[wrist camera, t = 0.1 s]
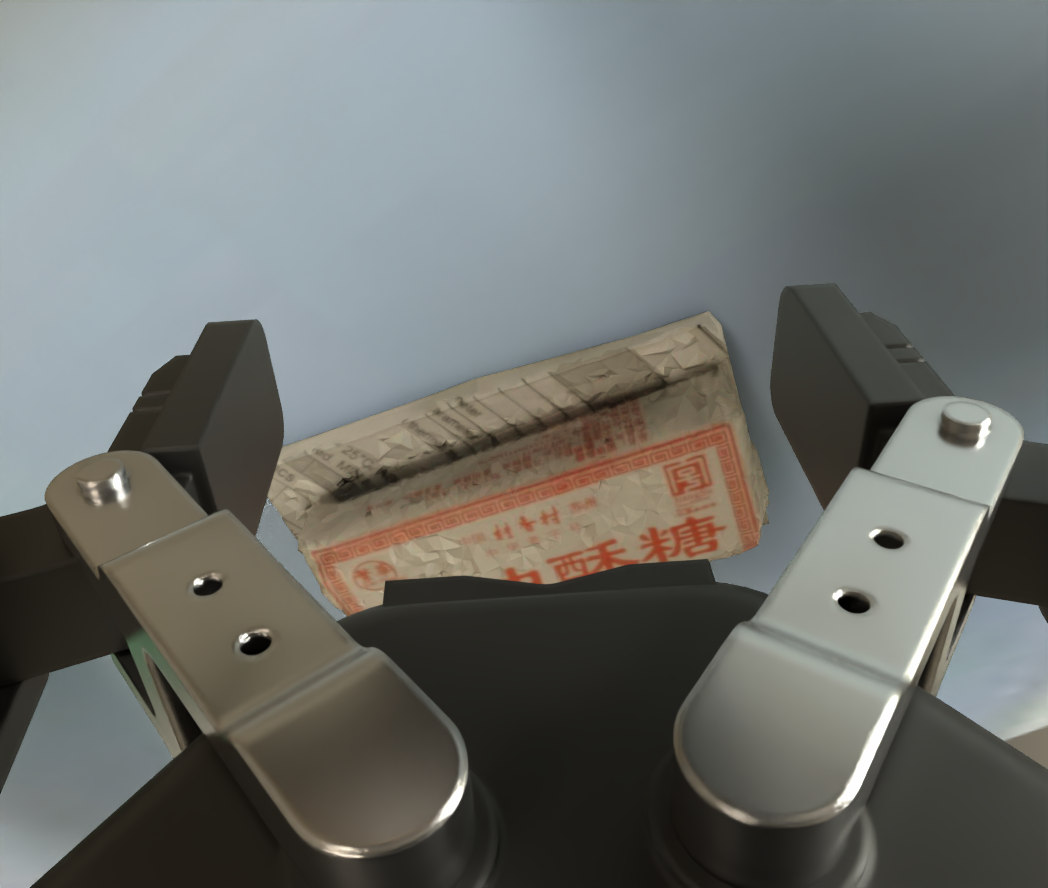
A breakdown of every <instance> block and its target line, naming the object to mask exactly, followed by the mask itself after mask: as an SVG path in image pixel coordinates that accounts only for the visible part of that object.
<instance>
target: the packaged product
mask: <svg viewBox="0 0 1048 888" xmlns="http://www.w3.org/2000/svg"><path fill="white" fill-rule="evenodd" d="M748 433H749V431H748V428H747V425H746V418H745V413H744V412H743V410H742V406H741V402H740V399H739V395H738V391H737V387H736V383H735V379H734V375H733V371H732V367H731V363H730V359H729V355H728V350H727V346H726V342H725V338H724V334H723V330H722V326H721V324H720V323H719V322H718V320H717V319H716V318H715V317H714V316H713V315H712V314H711V313H710V312H709V311H708V312H705V313H701V314H698V315H695V316H692V317H689V318H686V319H683V320H680V321H677V322H674V323H671V324H668V325H665V326H662V327H659V328H656V329H653V330H650V331H647V332H644V333H641V334H638V335H635V336H631V337H628V338H624V339H620V340H617V341H613V342H609V343H606V344H602V345H598V346H594V347H591V348H587V349H583V350H580V351H576V352H572V353H569V354H565V355H561V356H558V357H554V358H550V359H547V360H543V361H539V362H535V363H532V364H528V365H524V366H521V367H517V368H513V369H509V370H506V371H502V372H498V373H494V374H491V375H487V376H483V377H480V378H476V379H473V380H470V381H467V382H465V383H462V384H459V385H457V386H454V387H451V388H449V389H446V390H443V391H440V392H438V393H435V394H432V395H430V396H427V397H424V398H421V399H419V400H416V401H413V402H411V403H408V404H405V405H402V406H399V407H396V408H393V409H390V410H387V411H385V412H382V413H379V414H376V415H373V416H370V417H367V418H364V419H361V420H358V421H356V422H353V423H350V424H347V425H344V426H341V427H338V428H335V429H332V430H330V431H327V432H324V433H321V434H318V435H315V436H312V437H309V438H306V439H303V440H301V441H298V442H295V443H292V444H289V445H286V446H283V447H282V449H281V453H280V456H279V459H278V463H277V466H276V469H275V472H274V476H273V479H272V482H271V486H270V489H269V492H268V496H267V497H268V498H269V500H270V501H271V503H272V504H273V505H274V507H275V508H276V509H277V510H278V512H279V513H280V515H281V516H282V518H283V520H284V522H285V523H286V525H287V526H288V528H289V529H290V531H291V532H292V533H293V535H294V536H295V538H296V539H297V540H298V551H300V552H301V553H303V554H304V557H305V559H306V562H307V564H308V565H309V567H310V569H311V570H312V572H313V574H314V576H315V578H316V580H317V581H318V583H319V585H320V589H321V593H322V594H323V595H324V596H326V597H327V598H328V599H329V601H330V602H331V603H332V604H333V605H334V606H335V607H336V608H338V609H342V611H343V612H344V614H345V615H347V616H350V615H352V614H354V613H357V612H360V611H363V610H365V609H368V608H371V607H375V606H378V605H382V604H383V596H384V587H385V581H389V580H404V579H419V578H433V577H448V576H463V575H466V576H475V577H484V578H492V579H501V580H510V581H519V582H528V583H537V584H553V583H558V582H562V581H566V580H569V579H573V578H577V577H581V576H585V575H589V574H593V573H597V572H601V571H605V570H608V569H612V568H616V567H620V566H624V565H628V564H640V563H655V562H669V561H684V560H699V559H708V560H709V562H710V561H712V560H717V559H722V558H727V557H730V556H733V555H738V554H740V553H743V552H745V551H747V550H749V549H752V548H754V547H756V546H757V545H758V543H759V540H760V538H761V526H762V525H765V524H768V523H769V520H768V516H767V511H766V508H767V506H768V504H769V500H768V495H769V490H768V487H767V484H766V481H765V478H764V474H763V470H762V466H761V462H760V459H759V455H758V451H757V449H756V447H755V446H754V444H753V443H752V441H751V440H750V438H749V434H748Z"/></svg>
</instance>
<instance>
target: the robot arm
mask: <svg viewBox="0 0 1048 888" xmlns="http://www.w3.org/2000/svg"><path fill="white" fill-rule="evenodd" d="M770 389H771V400H772V405H773V410H774V413H775V415H776V417H777V419H778V421H779V423H780V425H781V427H782V429H783V431H784V433H785V435H786V437H787V439H788V441H789V443H790V445H791V447H792V449H793V451H794V453H795V455H796V457H797V459H798V461H799V463H800V465H801V466H802V468H803V470H804V472H805V474H806V476H807V478H808V480H809V482H810V484H811V486H812V488H813V490H814V492H815V494H816V496H817V498H818V500H819V502H820V504H821V506H822V508H823V510H824V512H823V514H822V515H821V517H820V518H819V520H818V521H817V523H816V524H815V526H814V527H813V529H812V530H811V532H810V533H809V535H808V536H807V538H806V539H805V541H804V542H803V544H802V545H801V547H800V548H799V550H798V551H797V553H796V554H795V556H794V557H793V559H792V560H791V562H790V563H789V565H788V566H787V568H786V569H785V571H784V573H783V574H782V576H781V577H780V579H779V580H778V582H777V583H776V585H775V586H774V588H773V589H772V591H771V592H770V594H769V595H768V594H766V593H763V592H760V591H757V590H753V589H750V588H747V587H742V586H738V585H733V584H728V583H721V582H715V579H714V576H713V572H712V569H711V566H710V563H709V560H708V559H699V560H684V561H669V562H655V563H640V564H628V565H624V566H620V567H616V568H612V569H608V570H605V571H601V572H597V573H593V574H589V575H585V576H581V577H577V578H573V579H569V580H566V581H562V582H558V583H553V584H537V583H528V582H519V581H510V580H501V579H492V578H484V577H475V576H466V575H463V576H448V577H433V578H419V579H404V580H389V581H385V587H384V596H383V604H382V605H378V606H375V607H371V608H368V609H365V610H363V611H360V612H357V613H354V614H352V615H350V616H347V617H345V618H343V619H341V620H339V621H336V620H335V619H334V618H333V617H332V616H331V615H330V614H329V613H328V612H327V611H326V610H325V609H324V608H323V607H322V606H321V605H320V604H319V603H318V602H317V601H316V600H315V599H314V598H313V597H312V595H311V594H310V593H309V592H308V591H307V590H306V589H305V588H304V587H303V586H302V585H301V584H300V583H299V582H298V581H297V580H296V579H295V578H294V577H293V576H292V575H291V574H290V573H289V572H288V571H287V570H286V569H285V567H284V566H283V565H282V564H281V563H280V562H279V561H278V560H277V559H276V558H275V557H274V556H273V555H272V554H271V553H270V552H269V551H268V550H267V549H266V548H265V547H264V546H263V545H262V544H261V543H260V542H259V540H258V539H257V538H256V537H255V535H256V532H257V529H258V525H259V522H260V519H261V515H262V512H263V509H264V505H265V502H266V499H267V496H268V492H269V489H270V486H271V482H272V479H273V476H274V472H275V469H276V466H277V463H278V459H279V456H280V453H281V449H282V445H283V438H284V422H283V413H282V407H281V402H280V398H279V394H278V389H277V385H276V380H275V376H274V372H273V367H272V363H271V359H270V354H269V350H268V345H267V341H266V337H265V333H264V330H263V327H262V325H261V323H260V322H259V321H258V320H257V319H255V320H240V321H224V322H209V323H207V324H206V326H205V328H204V329H203V331H202V333H201V335H200V337H199V339H198V341H197V343H196V345H195V346H194V348H193V350H192V352H191V354H190V355H181V356H175V357H174V358H173V359H171V360H170V361H169V362H167V363H166V364H165V365H163V366H162V367H161V368H159V369H158V370H157V371H155V372H154V373H153V374H152V375H151V377H150V379H149V381H148V382H147V384H146V386H145V388H144V389H143V391H142V396H140V397H139V398H138V400H137V401H136V403H135V405H134V407H133V412H130V414H129V415H128V417H127V419H126V421H125V422H124V424H123V426H122V427H121V429H120V431H119V433H118V434H117V436H116V438H115V440H114V441H113V443H112V445H111V447H110V448H109V450H108V452H107V453H102V454H99V455H95V456H92V457H89V458H86V459H84V460H81V461H79V462H77V463H75V464H73V465H71V466H70V467H68V468H66V469H65V470H63V471H62V472H61V473H59V474H58V475H57V476H56V477H55V478H54V479H53V480H52V481H51V482H50V484H49V485H48V487H47V489H46V492H45V501H46V504H45V505H43V506H40V507H36V508H33V509H29V510H25V511H21V512H18V513H14V514H10V515H6V516H2V517H0V794H1V791H2V789H3V786H4V784H5V782H6V779H7V777H8V774H9V772H10V770H11V767H12V765H13V762H14V760H15V758H16V755H17V753H18V750H19V748H20V745H21V743H22V741H23V738H24V736H25V733H26V731H27V729H28V726H29V724H30V721H31V719H32V717H33V714H34V712H35V709H36V707H37V705H38V702H39V700H40V697H41V695H42V693H43V690H44V688H45V685H46V683H47V680H48V677H49V673H50V672H53V671H56V670H60V669H63V668H66V667H70V666H73V665H76V664H80V663H83V662H86V661H89V660H93V659H96V658H99V657H103V656H106V655H109V654H110V655H111V657H112V659H113V662H114V664H115V665H116V667H117V668H118V670H119V672H120V673H121V675H122V676H123V678H124V679H125V681H126V683H127V684H128V686H129V687H130V689H131V691H132V692H133V694H134V695H135V697H136V698H137V700H138V702H139V703H140V705H141V706H142V708H143V709H144V711H145V713H146V714H147V716H148V717H149V719H150V721H151V722H152V724H153V725H154V727H155V728H156V730H157V732H158V733H159V735H160V736H161V738H162V740H163V741H164V743H165V745H166V746H167V748H168V750H169V752H170V754H171V756H172V758H173V760H172V761H171V762H170V763H168V764H167V765H166V766H165V767H164V768H163V769H162V770H161V771H160V772H158V773H157V774H156V775H155V776H154V777H153V778H152V779H151V780H149V781H148V782H147V783H146V784H145V785H144V786H143V787H142V788H141V789H139V790H138V791H137V792H136V793H135V794H134V795H133V796H132V797H130V798H129V799H128V800H127V801H126V802H125V803H124V804H123V805H122V806H120V807H119V808H118V809H117V810H116V811H115V812H114V813H113V814H111V815H110V816H109V817H108V818H107V819H106V820H105V821H104V822H103V823H101V824H100V825H99V826H98V827H97V828H96V829H95V830H94V831H92V832H91V833H90V834H89V835H88V836H87V837H86V838H85V839H84V840H82V841H81V842H80V843H79V844H78V845H77V846H76V847H75V848H73V849H72V850H71V851H70V852H69V853H68V854H67V855H66V856H65V857H63V858H62V859H61V860H60V861H59V862H58V863H57V864H56V865H54V866H53V867H52V868H51V869H50V870H49V871H48V872H47V873H46V874H44V875H43V876H42V877H41V878H40V879H39V880H38V881H37V882H35V883H34V884H33V885H32V886H31V887H30V888H1048V769H1046V768H1045V767H1043V766H1042V765H1040V764H1039V763H1037V762H1035V761H1034V760H1032V759H1031V758H1029V757H1028V756H1026V755H1025V754H1023V753H1022V752H1020V751H1018V750H1017V749H1015V748H1014V747H1012V746H1011V745H1009V744H1008V743H1006V742H1005V741H1003V740H1001V739H1000V738H998V737H997V736H995V735H994V734H992V733H991V732H989V731H987V730H986V729H984V728H983V727H981V726H980V725H978V724H977V723H975V722H974V721H972V720H970V719H969V718H967V717H966V716H964V715H963V714H961V713H960V712H958V711H957V710H955V709H953V708H952V707H950V706H949V705H947V704H946V703H944V702H943V701H941V700H940V699H938V698H936V695H937V693H938V690H939V687H940V685H941V682H942V680H943V677H944V675H945V673H946V670H947V668H948V665H949V663H950V660H951V658H952V655H953V653H954V651H955V648H956V646H957V643H958V641H959V638H960V636H961V633H962V631H963V628H964V626H965V624H966V621H967V619H968V616H969V614H970V611H971V609H972V606H973V604H974V601H975V597H976V595H977V596H983V597H989V598H995V599H1002V600H1008V601H1014V602H1021V603H1027V604H1033V605H1039V609H1040V611H1041V613H1042V615H1043V616H1044V618H1045V620H1046V621H1047V623H1048V444H1042V443H1035V442H1029V441H1025V440H1023V439H1024V430H1023V428H1022V426H1021V424H1020V423H1019V422H1018V420H1017V419H1016V418H1014V417H1013V416H1012V415H1011V414H1009V413H1008V412H1006V411H1005V410H1003V409H1001V408H999V407H997V406H994V405H992V404H989V403H987V402H983V401H980V400H976V399H971V398H965V397H956V396H955V395H954V394H953V393H952V392H951V390H950V389H949V388H948V387H947V386H946V384H945V383H944V382H943V381H942V380H941V379H940V377H939V376H938V375H937V374H936V373H935V371H934V370H933V369H932V368H931V367H930V365H929V364H928V363H927V362H923V357H922V356H921V355H920V353H919V352H918V351H917V350H916V349H915V348H914V347H911V343H910V342H909V340H908V339H907V338H906V337H905V336H904V334H903V333H902V332H901V331H900V330H899V328H898V327H897V326H895V325H893V324H892V323H890V322H888V321H886V320H884V319H882V318H881V317H879V316H877V315H875V314H873V313H872V312H861V313H859V312H858V311H857V309H856V308H855V307H854V306H853V304H852V303H851V302H850V301H849V299H848V298H847V297H846V295H845V294H844V293H843V292H842V290H841V289H840V288H839V287H838V285H837V284H835V283H829V284H813V285H798V286H786V287H785V288H784V289H783V291H782V293H781V296H780V301H779V308H778V317H777V325H776V334H775V343H774V351H773V360H772V369H771V380H770Z"/></svg>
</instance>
